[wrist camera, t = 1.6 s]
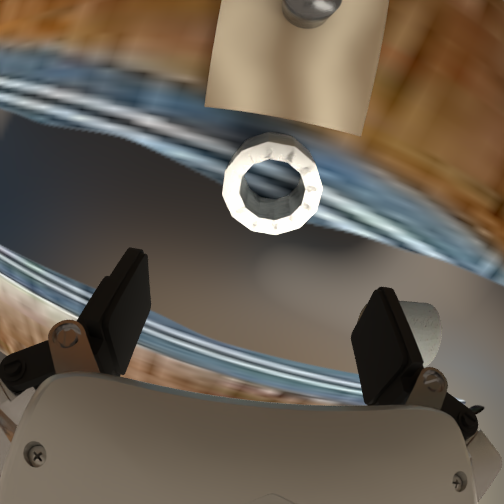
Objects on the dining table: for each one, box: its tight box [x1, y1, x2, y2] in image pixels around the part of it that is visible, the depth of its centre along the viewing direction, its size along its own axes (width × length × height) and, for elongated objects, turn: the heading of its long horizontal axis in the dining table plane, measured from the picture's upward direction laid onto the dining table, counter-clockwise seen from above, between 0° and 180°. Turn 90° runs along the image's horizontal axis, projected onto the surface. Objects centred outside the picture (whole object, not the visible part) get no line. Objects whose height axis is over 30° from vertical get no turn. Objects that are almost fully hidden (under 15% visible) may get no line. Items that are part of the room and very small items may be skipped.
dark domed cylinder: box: [282, 0, 342, 29], centre depth 13 cm, size 3×3×4 cm
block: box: [205, 0, 389, 137], centre depth 16 cm, size 12×18×2 cm, turn 171°
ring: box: [222, 132, 323, 235], centre depth 23 cm, size 7×7×4 cm
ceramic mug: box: [357, 301, 442, 367], centre depth 30 cm, size 11×8×8 cm
